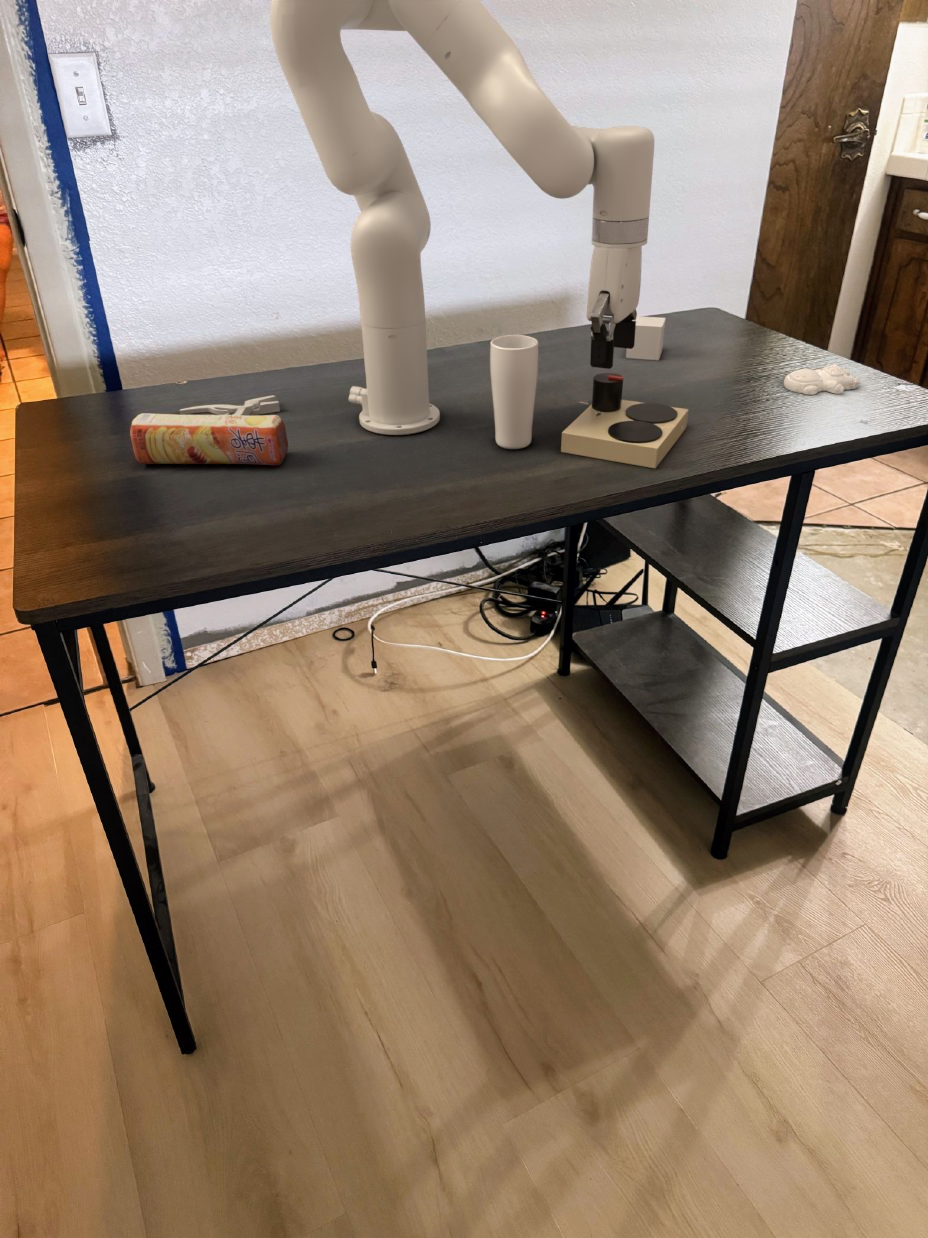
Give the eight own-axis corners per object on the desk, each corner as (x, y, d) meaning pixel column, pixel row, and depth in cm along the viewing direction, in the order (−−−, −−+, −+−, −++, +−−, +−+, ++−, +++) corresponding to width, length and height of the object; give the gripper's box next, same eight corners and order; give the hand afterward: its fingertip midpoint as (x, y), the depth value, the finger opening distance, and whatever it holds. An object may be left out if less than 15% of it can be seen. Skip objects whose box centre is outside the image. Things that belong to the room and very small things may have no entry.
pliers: (178, 403, 141) (269, 389, 146) (180, 413, 142) (270, 398, 147) (188, 424, 134) (284, 408, 139) (190, 434, 135) (285, 417, 140)
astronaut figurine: (865, 394, 143) (869, 375, 141) (791, 395, 143) (795, 377, 141) (846, 376, 150) (849, 358, 148) (775, 377, 150) (778, 360, 149)
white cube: (630, 348, 166) (633, 315, 162) (662, 350, 164) (665, 317, 161) (625, 357, 161) (628, 324, 157) (658, 360, 159) (662, 326, 156)
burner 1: (618, 418, 128) (618, 416, 128) (634, 401, 134) (634, 399, 134) (669, 426, 125) (669, 424, 125) (683, 409, 131) (683, 407, 131)
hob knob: (587, 409, 132) (589, 378, 129) (597, 399, 135) (599, 369, 132) (615, 413, 130) (618, 382, 127) (624, 404, 133) (627, 372, 130)
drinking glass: (537, 434, 132) (539, 334, 123) (535, 453, 126) (538, 349, 118) (492, 434, 132) (491, 334, 124) (488, 452, 127) (488, 348, 118)
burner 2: (600, 437, 123) (600, 435, 123) (618, 419, 128) (618, 417, 128) (653, 446, 120) (653, 444, 120) (668, 427, 125) (669, 425, 125)
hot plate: (549, 449, 127) (549, 429, 125) (588, 412, 139) (589, 392, 137) (655, 468, 121) (657, 447, 119) (686, 427, 133) (689, 407, 131)
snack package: (291, 451, 129) (285, 406, 125) (281, 470, 123) (274, 424, 119) (150, 451, 130) (139, 407, 126) (134, 469, 124) (122, 424, 121)
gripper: (614, 218, 126) (607, 337, 136) (570, 242, 114) (567, 372, 123) (665, 220, 123) (655, 342, 133) (626, 245, 111) (618, 378, 120)
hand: (612, 356), depth 128 cm, fingers open, 9 cm apart
